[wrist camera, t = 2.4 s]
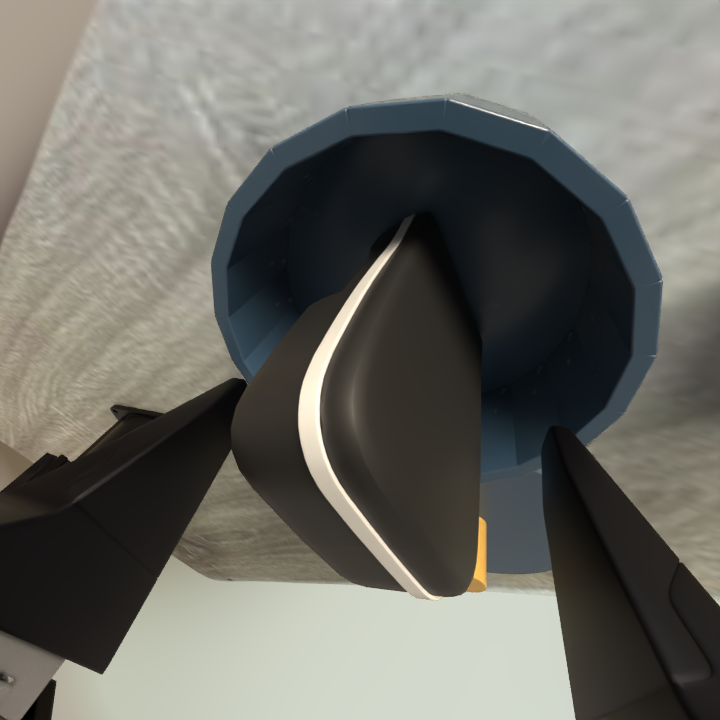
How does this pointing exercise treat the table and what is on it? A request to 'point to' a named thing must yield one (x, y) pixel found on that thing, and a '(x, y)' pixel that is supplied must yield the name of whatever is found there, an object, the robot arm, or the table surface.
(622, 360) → the tin
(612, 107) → the table surface
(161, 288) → the table surface
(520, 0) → the table surface
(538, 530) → the tin lid
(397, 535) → the battery charger
